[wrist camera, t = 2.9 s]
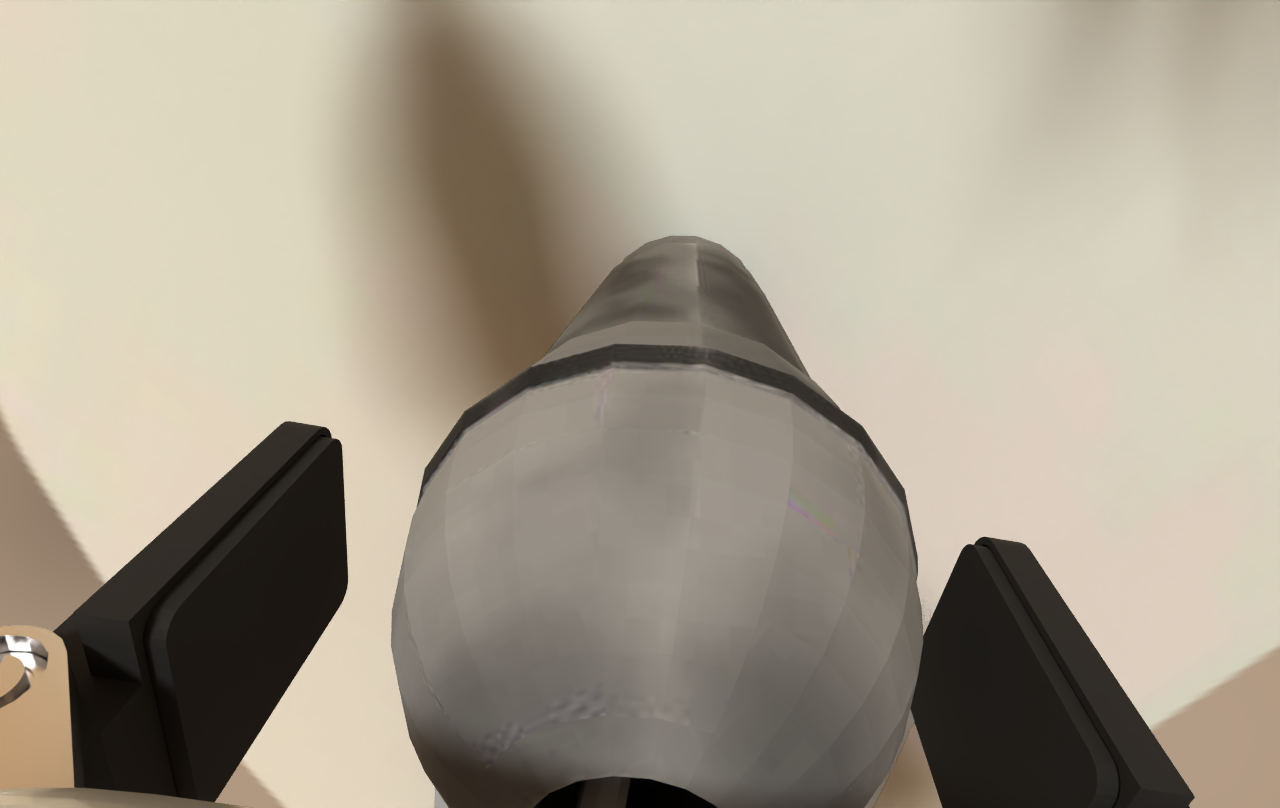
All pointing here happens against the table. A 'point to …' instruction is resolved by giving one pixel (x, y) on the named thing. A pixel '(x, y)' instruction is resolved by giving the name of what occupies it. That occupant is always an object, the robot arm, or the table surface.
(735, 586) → the beverage cup
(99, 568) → the table surface
